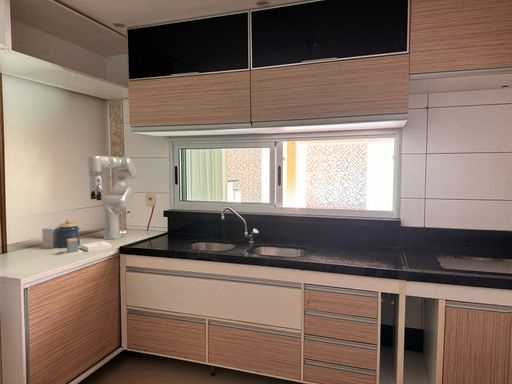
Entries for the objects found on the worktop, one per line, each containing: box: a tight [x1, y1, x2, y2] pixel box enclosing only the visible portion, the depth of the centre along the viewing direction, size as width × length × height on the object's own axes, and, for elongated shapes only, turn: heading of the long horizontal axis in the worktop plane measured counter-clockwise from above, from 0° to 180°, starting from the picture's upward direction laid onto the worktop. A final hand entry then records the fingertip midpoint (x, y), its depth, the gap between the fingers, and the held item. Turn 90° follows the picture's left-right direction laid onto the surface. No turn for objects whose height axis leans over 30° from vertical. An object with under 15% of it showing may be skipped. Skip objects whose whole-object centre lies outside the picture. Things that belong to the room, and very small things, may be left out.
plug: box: [66, 238, 79, 253], centre depth 209 cm, size 5×4×8 cm
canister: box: [57, 219, 81, 249], centre depth 226 cm, size 13×13×18 cm
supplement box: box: [41, 226, 59, 249], centre depth 226 cm, size 7×7×13 cm
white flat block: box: [80, 240, 112, 252], centre depth 219 cm, size 14×12×3 cm
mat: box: [61, 248, 84, 256], centre depth 209 cm, size 10×10×1 cm
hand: (96, 199), depth 231 cm, fingers open, 9 cm apart
